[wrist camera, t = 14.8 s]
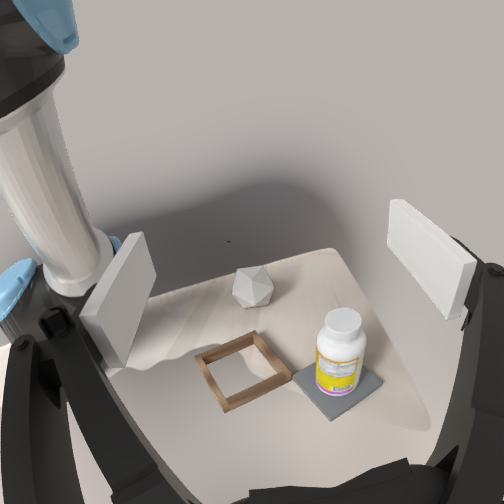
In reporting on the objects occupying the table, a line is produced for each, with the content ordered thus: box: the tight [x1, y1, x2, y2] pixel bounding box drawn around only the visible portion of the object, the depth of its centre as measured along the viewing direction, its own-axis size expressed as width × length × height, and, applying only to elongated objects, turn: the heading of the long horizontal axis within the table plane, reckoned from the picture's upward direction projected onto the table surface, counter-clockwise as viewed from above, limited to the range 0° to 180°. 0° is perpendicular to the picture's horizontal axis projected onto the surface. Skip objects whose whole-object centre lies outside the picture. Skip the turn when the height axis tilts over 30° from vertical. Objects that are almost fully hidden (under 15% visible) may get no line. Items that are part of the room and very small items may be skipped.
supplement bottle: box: [316, 307, 367, 396], centre depth 38 cm, size 7×7×13 cm
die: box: [232, 266, 274, 308], centre depth 60 cm, size 8×9×10 cm
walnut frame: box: [195, 330, 291, 413], centre depth 45 cm, size 12×12×2 cm
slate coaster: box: [292, 362, 383, 422], centre depth 41 cm, size 10×10×1 cm
